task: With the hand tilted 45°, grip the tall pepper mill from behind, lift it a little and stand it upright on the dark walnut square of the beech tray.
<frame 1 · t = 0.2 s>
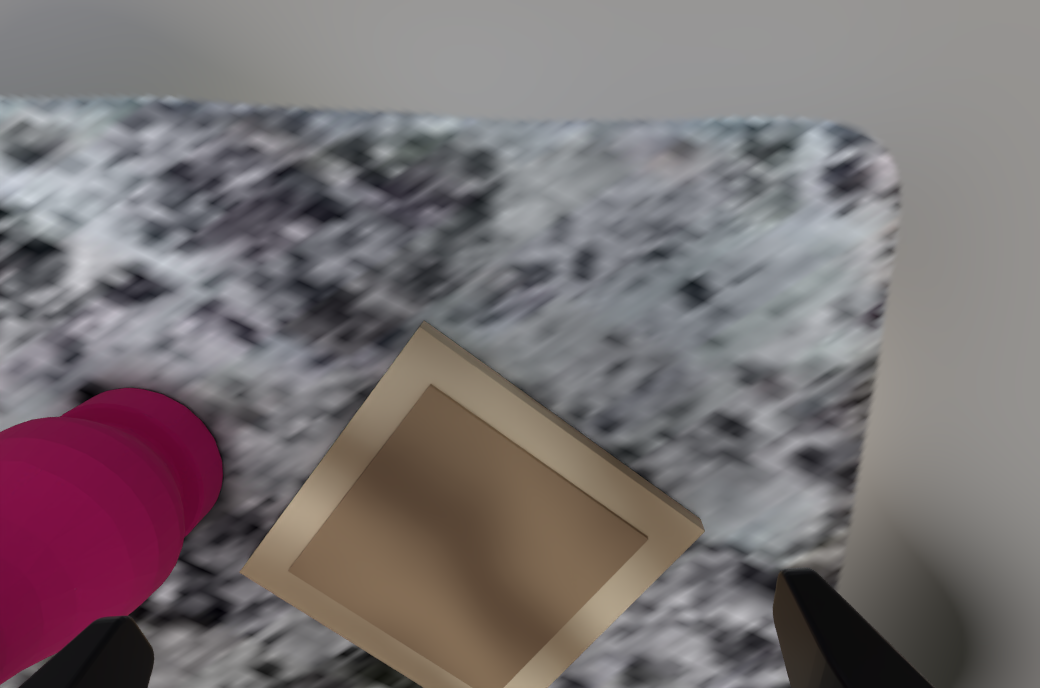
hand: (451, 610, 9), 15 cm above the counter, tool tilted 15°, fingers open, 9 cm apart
beech tray: (466, 540, 27), on the counter
pepper mill: (150, 457, 26), on the counter
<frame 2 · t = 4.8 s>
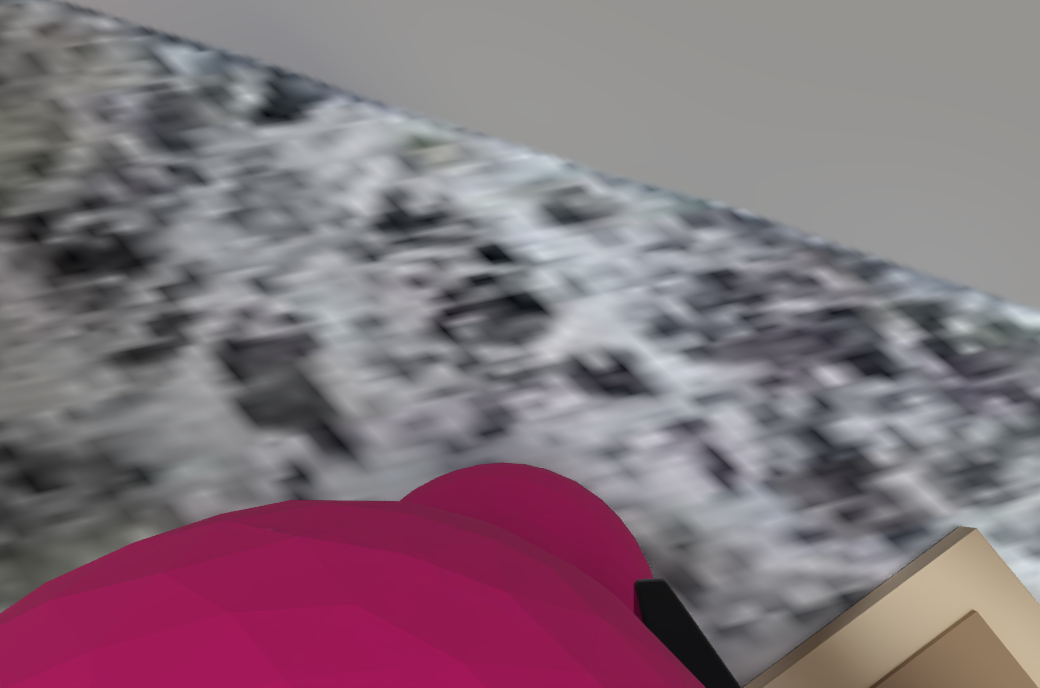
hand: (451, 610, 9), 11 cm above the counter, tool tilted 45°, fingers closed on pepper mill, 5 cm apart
pepper mill: (515, 593, 19), on the counter, touching gripper
when the fingers open (13 cm above the counter, at t = 7.7 s): pepper mill stays where it is, resting on beech tray.
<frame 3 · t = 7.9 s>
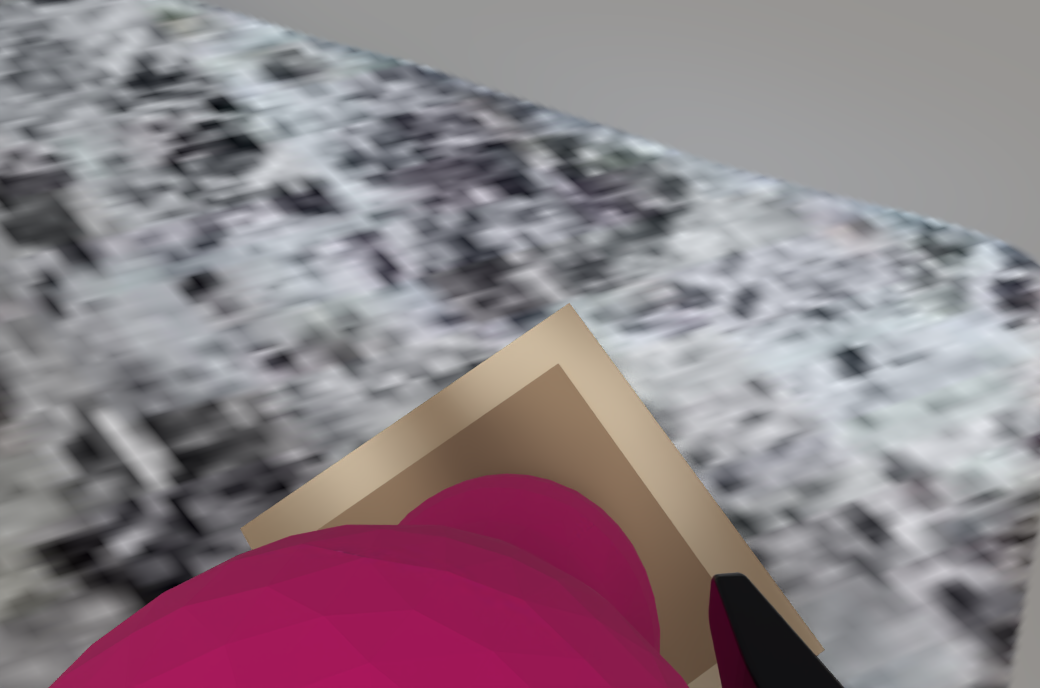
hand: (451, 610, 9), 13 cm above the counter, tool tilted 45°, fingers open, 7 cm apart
beech tray: (520, 582, 21), on the counter
pepper mill: (520, 595, 21), point 1 cm above the counter, touching beech tray
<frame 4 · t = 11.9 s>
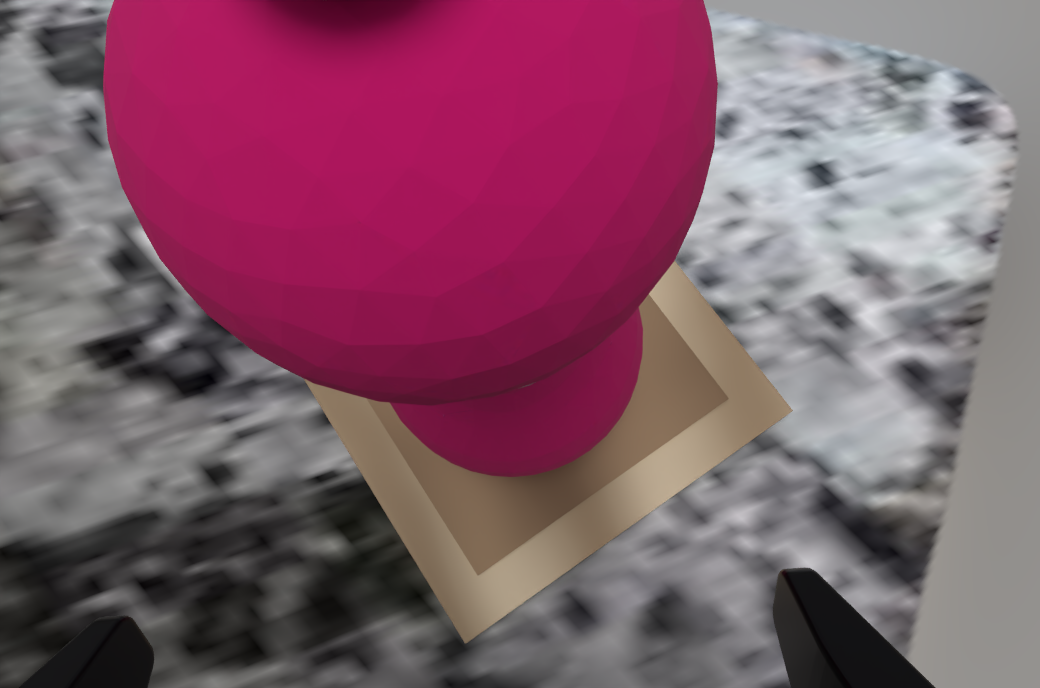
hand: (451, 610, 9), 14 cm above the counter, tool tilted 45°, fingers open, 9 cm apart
beech tray: (520, 367, 24), on the counter
pepper mill: (520, 370, 23), point 1 cm above the counter, touching beech tray
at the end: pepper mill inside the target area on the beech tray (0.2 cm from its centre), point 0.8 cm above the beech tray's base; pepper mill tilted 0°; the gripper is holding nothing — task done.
